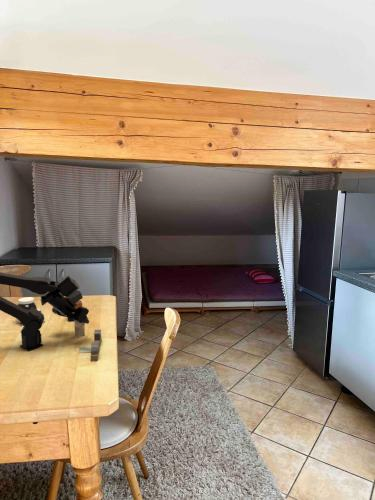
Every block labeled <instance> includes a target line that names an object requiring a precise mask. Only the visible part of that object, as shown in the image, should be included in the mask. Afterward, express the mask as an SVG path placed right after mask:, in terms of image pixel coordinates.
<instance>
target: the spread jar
mask: <svg viewBox="0 0 375 500" xmlns="http://www.w3.org/2000/svg"><path fill="white" fill-rule="evenodd" d="M17 301H18V303H17V305H18V306H20V307H22V308H24V309H28V310H30V309H31V308H32V307H33V308H35V309H36V310H38V311H41V313H42V314H43V315H44V313H43V310H42V309H41V308H37V305H36V302H35V298H34V297H30V296H28V297H21V298H18V300H17ZM45 319H46V318H45V317H44V322H45V321H46V320H45ZM16 321H17V323H18V324H19V325H20V326H24V325H23V324H22V323H21V322H20V321H19V320H18V319H16Z"/></svg>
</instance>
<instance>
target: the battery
mask: <svg viewBox="0 0 375 500" xmlns="http://www.w3.org/2000/svg"><path fill="white" fill-rule="evenodd" d="M76 304H77V305H76V307H74V308H77V309H78V307H80V306H82V307H83V302H82V299H80V300H79V301H78V302H77V303H76ZM73 314H74V313H73ZM66 319H67V321H68V322H74V320H73V319H72V318H68V317H66Z"/></svg>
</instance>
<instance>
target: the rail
mask: <svg viewBox="0 0 375 500" xmlns="http://www.w3.org/2000/svg"><path fill="white" fill-rule="evenodd" d="M93 332H94V333H93V342H91V345H90V346H80V347H79V348H78V352H77V354H81V353H82V354H86V353H90V362H98V361H99V360H98V359H99V353H100V348H101V344H102V329H101V328H100V329H94V331H93Z"/></svg>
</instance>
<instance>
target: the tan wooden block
mask: <svg viewBox="0 0 375 500" xmlns="http://www.w3.org/2000/svg"><path fill="white" fill-rule="evenodd" d="M73 322H74V337H76V338H81V337H82V338H83V337H85V335H86V332H85V331H86V328H85V326H86V323H79V322H76V321H75V320H74V321H73Z"/></svg>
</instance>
